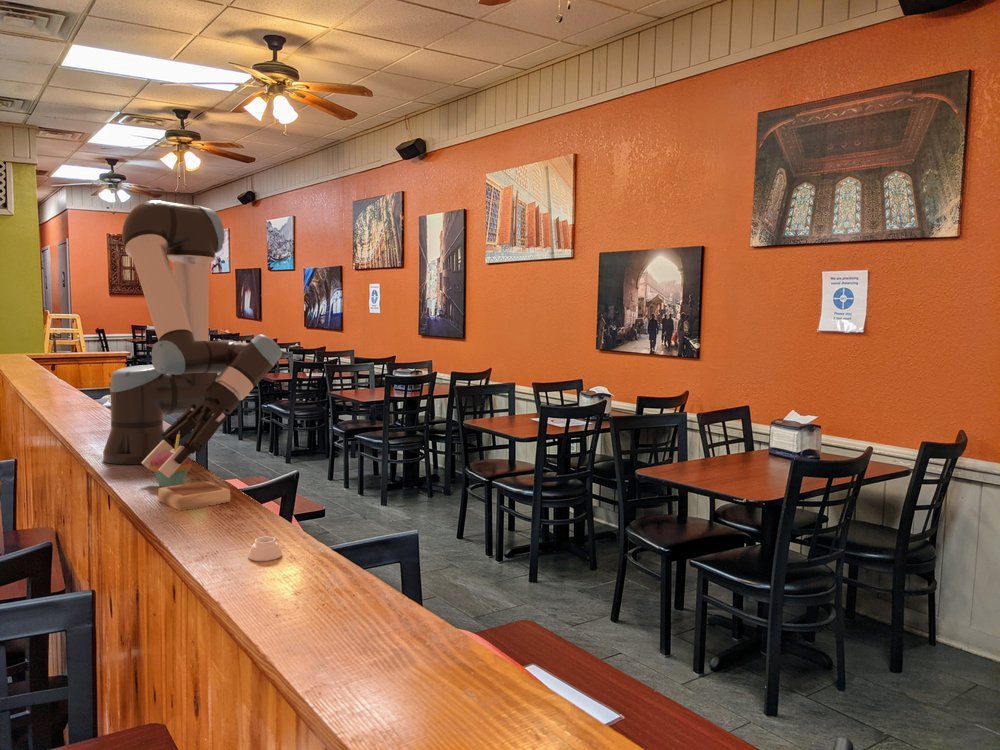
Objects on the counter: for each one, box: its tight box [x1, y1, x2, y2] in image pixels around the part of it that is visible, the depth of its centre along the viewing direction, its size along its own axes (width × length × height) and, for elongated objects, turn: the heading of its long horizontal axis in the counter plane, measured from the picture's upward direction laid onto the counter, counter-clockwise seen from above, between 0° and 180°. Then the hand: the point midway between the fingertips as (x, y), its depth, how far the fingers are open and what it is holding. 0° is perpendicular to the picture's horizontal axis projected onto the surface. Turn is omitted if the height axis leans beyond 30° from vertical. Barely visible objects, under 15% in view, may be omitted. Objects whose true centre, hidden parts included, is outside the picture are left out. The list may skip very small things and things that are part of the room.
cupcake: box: [148, 431, 194, 488], centre depth 156 cm, size 9×8×12 cm
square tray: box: [157, 480, 231, 512], centre depth 144 cm, size 10×10×3 cm
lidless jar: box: [247, 536, 283, 562], centre depth 113 cm, size 5×3×5 cm
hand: (154, 470), depth 154 cm, fingers closed on cupcake, 8 cm apart
